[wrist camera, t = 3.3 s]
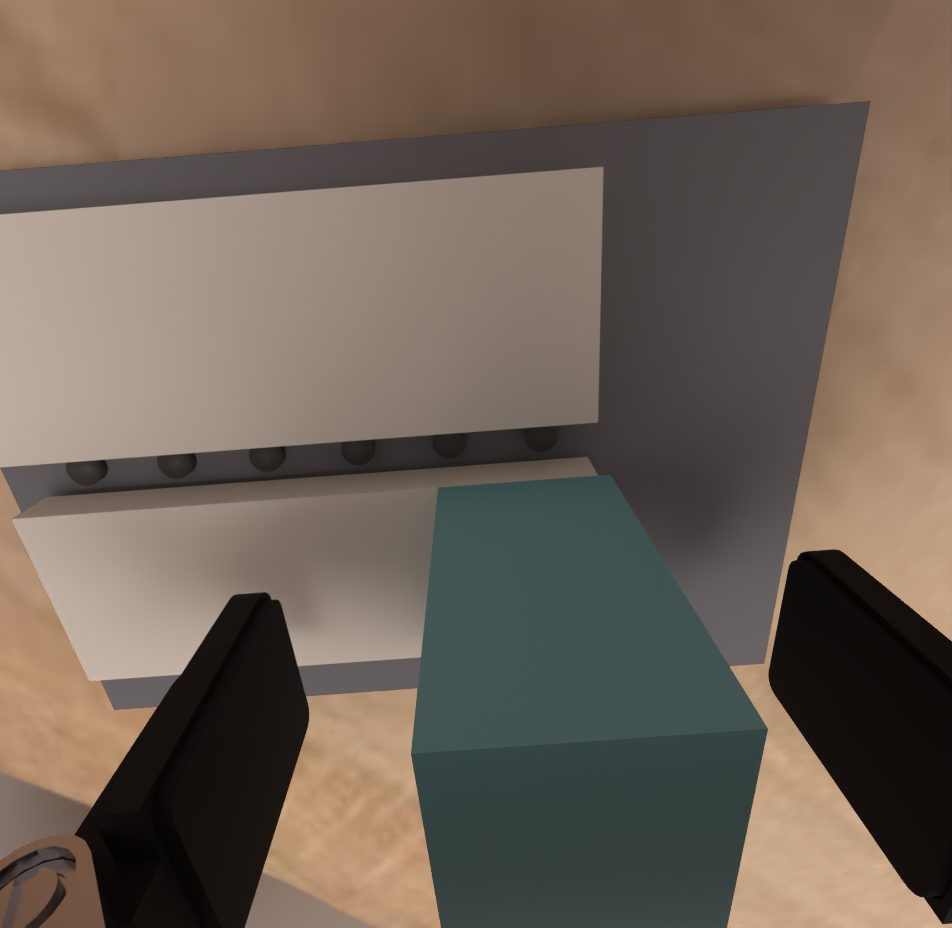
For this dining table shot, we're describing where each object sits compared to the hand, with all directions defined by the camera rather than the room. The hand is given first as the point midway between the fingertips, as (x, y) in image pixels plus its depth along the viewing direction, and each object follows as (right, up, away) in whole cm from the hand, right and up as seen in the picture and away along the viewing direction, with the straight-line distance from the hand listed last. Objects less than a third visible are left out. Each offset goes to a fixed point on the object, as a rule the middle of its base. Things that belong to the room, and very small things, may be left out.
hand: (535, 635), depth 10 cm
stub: (-4, +1, +3) cm, 5 cm away
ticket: (-5, +6, +1) cm, 7 cm away
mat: (-3, +3, +3) cm, 5 cm away
